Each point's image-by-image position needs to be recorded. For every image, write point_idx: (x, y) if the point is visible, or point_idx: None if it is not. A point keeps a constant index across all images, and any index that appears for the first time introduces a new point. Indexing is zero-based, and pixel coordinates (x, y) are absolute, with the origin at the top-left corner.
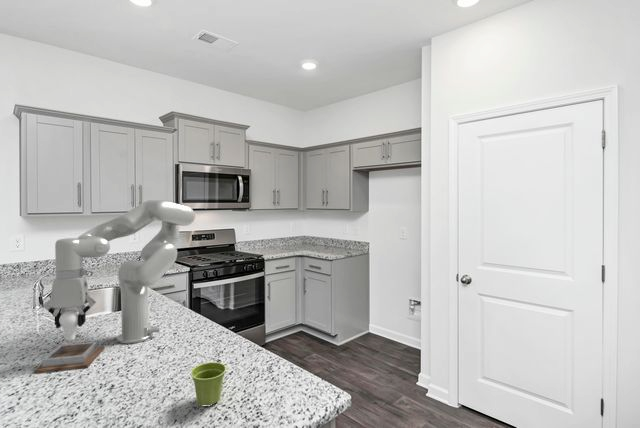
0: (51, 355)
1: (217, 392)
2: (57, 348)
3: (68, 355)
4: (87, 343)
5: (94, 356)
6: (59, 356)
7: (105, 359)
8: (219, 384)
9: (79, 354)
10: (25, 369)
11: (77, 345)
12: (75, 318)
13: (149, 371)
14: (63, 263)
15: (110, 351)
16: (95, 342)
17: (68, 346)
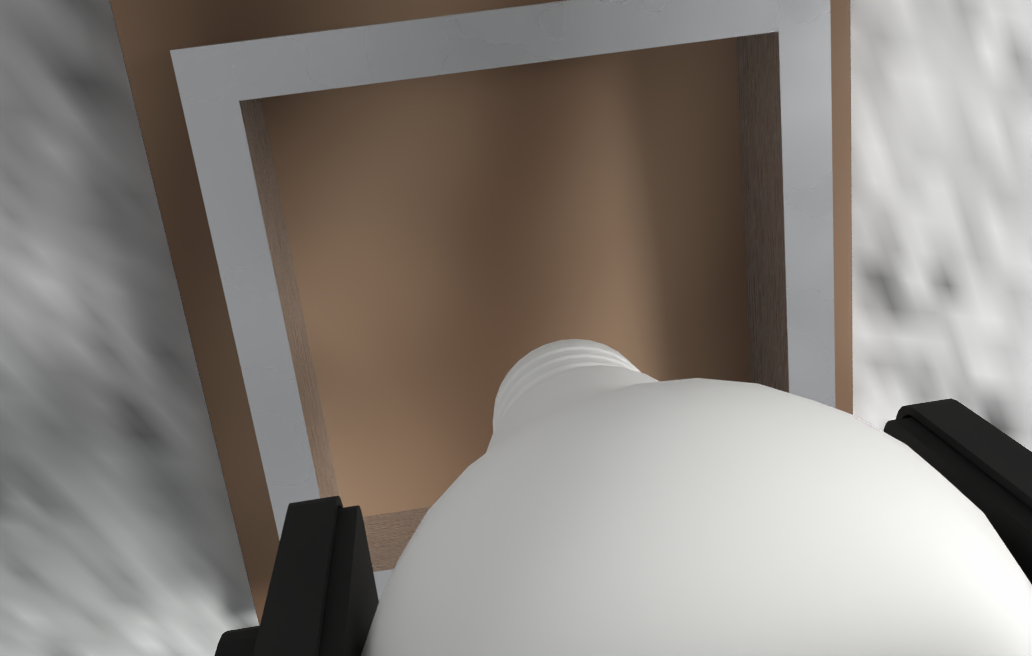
0: (315, 461)
1: None
2: (231, 214)
3: (432, 211)
4: (670, 38)
5: (846, 292)
6: (309, 234)
7: (973, 298)
8: None
9: (590, 197)
10: (46, 488)
11: (501, 65)
12: None
13: None
14: None
15: (960, 22)
16: (799, 5)
17: (349, 84)
